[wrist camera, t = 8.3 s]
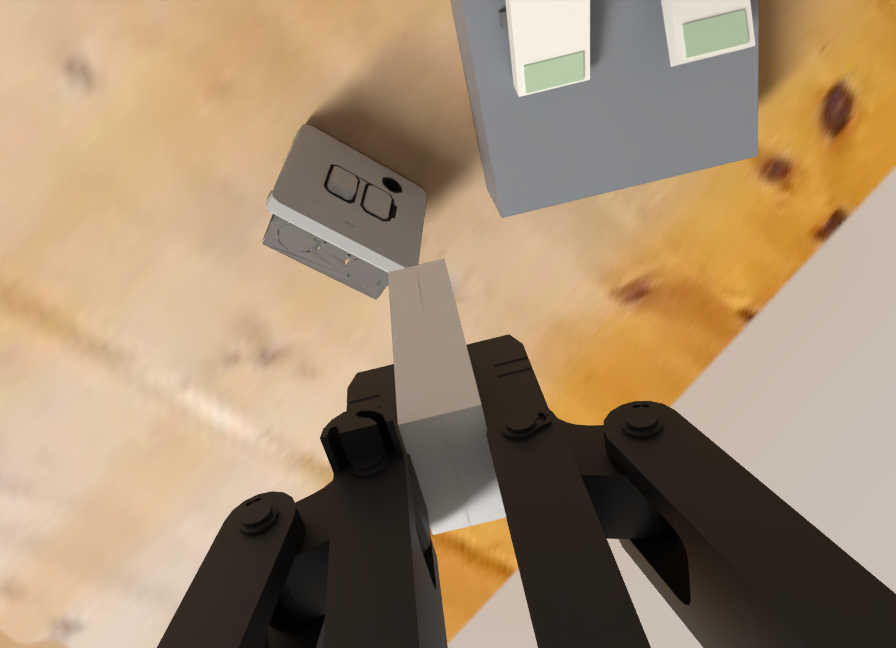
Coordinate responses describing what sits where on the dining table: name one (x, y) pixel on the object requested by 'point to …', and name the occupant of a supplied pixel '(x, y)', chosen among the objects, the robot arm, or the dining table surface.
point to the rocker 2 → (706, 28)
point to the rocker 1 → (548, 43)
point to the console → (604, 108)
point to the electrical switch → (344, 213)
